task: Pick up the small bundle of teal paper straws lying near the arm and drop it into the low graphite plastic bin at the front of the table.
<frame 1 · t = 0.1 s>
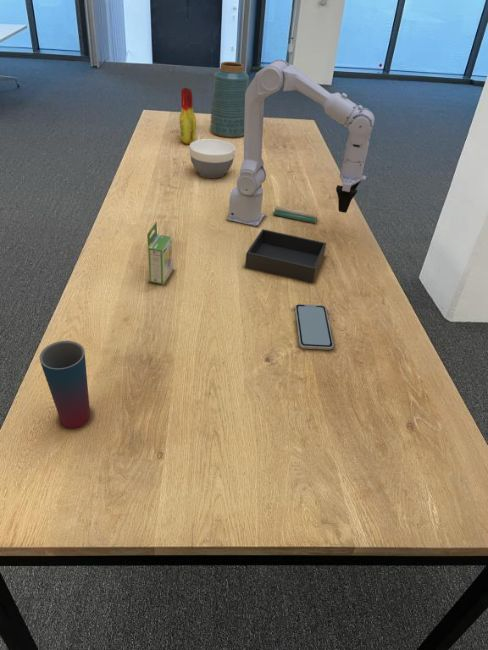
hand: (344, 206, 142), 10 cm above the table, tool pointing down, fingers open, 7 cm apart
straws: (294, 217, 156), on the table
vase: (228, 132, 216), on the table
bottle: (187, 141, 204), on the table
ink box: (161, 277, 126), on the table
smartphone: (312, 328, 113), on the table
bowl: (211, 173, 180), on the table
bin: (285, 262, 135), on the table
cup: (75, 418, 89), on the table
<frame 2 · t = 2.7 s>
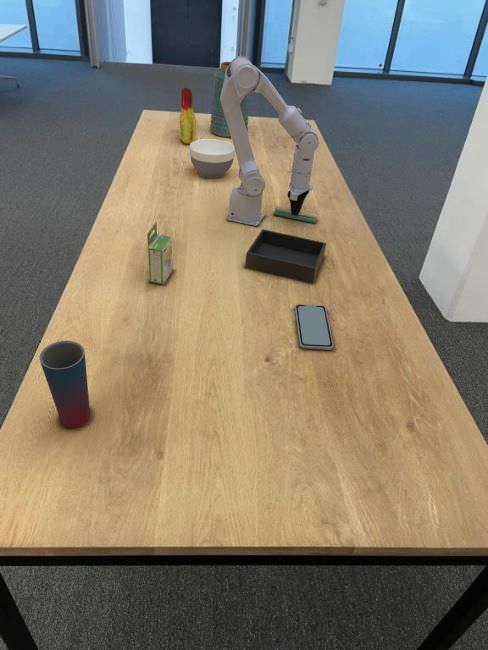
hand: (295, 213, 155), 2 cm above the table, tool pointing down, fingers closed on straws
straws: (294, 217, 156), on the table, touching gripper
everything else where it was.
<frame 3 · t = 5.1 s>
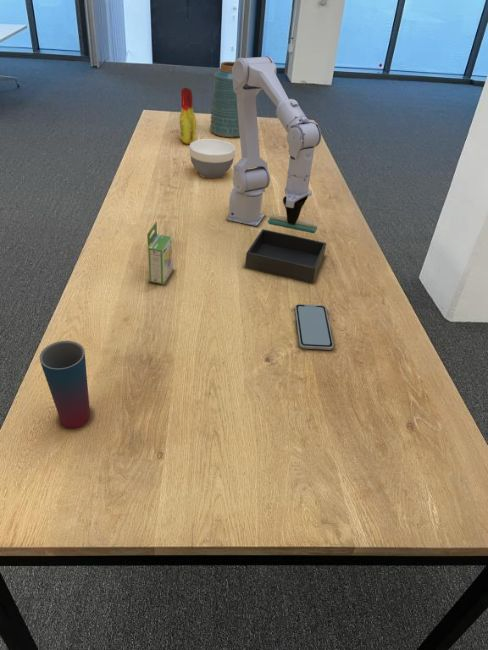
hand: (292, 221, 135), 8 cm above the table, tool pointing down, fingers closed on straws
straws: (292, 227, 136), point 7 cm above the table, touching gripper
everything else where it was.
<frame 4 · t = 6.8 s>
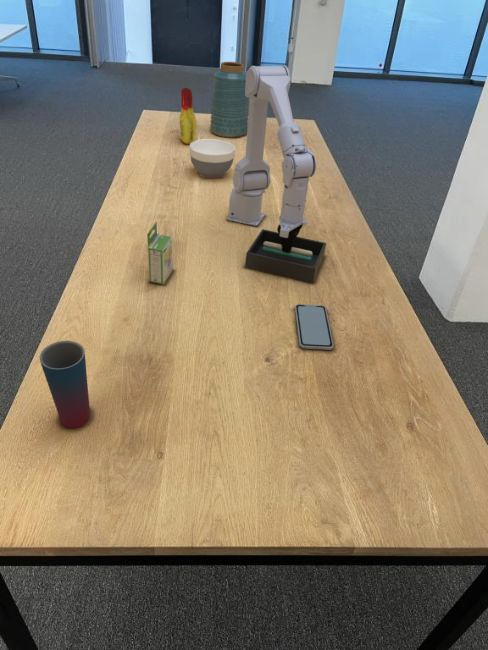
hand: (287, 249, 133), 4 cm above the table, tool pointing down, fingers closed on straws
straws: (286, 255, 134), point 2 cm above the table, touching gripper
everything else where it was.
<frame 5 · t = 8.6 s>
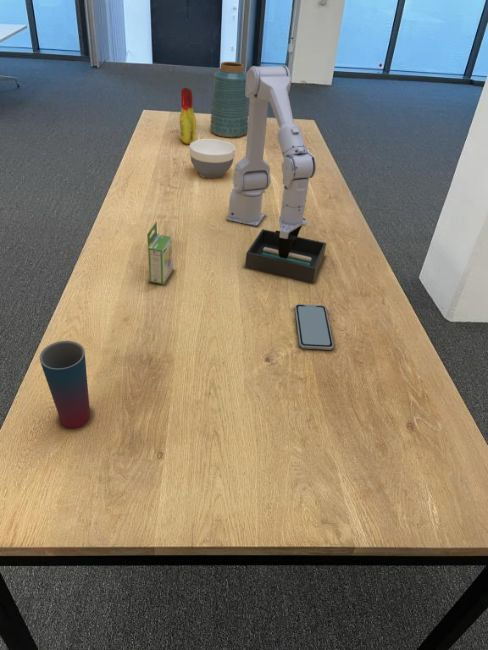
hand: (287, 250, 133), 4 cm above the table, tool pointing down, fingers open, 7 cm apart
straws: (286, 260, 135), resting on bin
everything else where it was.
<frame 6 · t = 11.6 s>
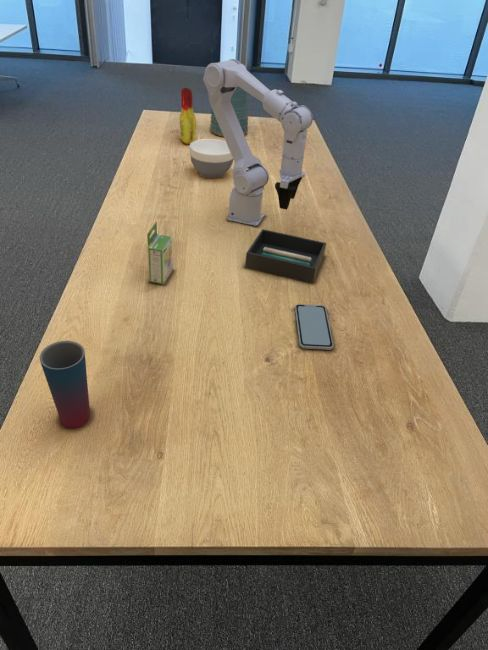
hand: (287, 203, 142), 9 cm above the table, tool pointing down, fingers open, 7 cm apart
nothing on the table moved.
at the end: straws inside the target area in the bin (0.1 cm from its centre), point 0.5 cm above the bin's base; the gripper is holding nothing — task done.
